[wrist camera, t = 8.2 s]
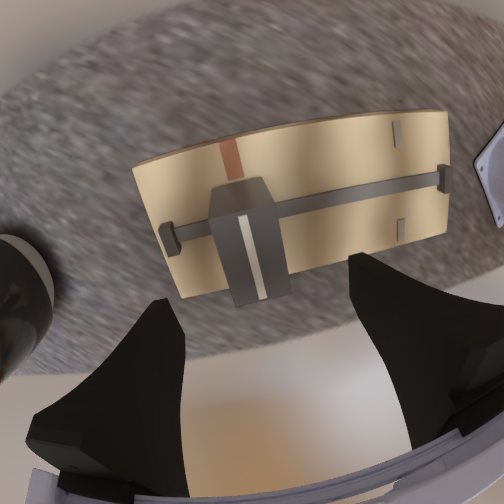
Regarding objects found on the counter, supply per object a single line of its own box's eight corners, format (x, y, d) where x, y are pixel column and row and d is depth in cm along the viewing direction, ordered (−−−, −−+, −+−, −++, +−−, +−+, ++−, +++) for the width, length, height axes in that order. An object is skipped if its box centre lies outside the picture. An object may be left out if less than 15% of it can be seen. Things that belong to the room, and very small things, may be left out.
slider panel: (431, 109, 17) (455, 113, 15) (433, 222, 22) (453, 237, 20) (140, 162, 18) (126, 172, 15) (184, 283, 23) (180, 307, 20)
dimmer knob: (261, 176, 17) (275, 204, 12) (277, 249, 19) (292, 295, 15) (211, 188, 17) (207, 220, 13) (232, 260, 19) (235, 308, 15)
